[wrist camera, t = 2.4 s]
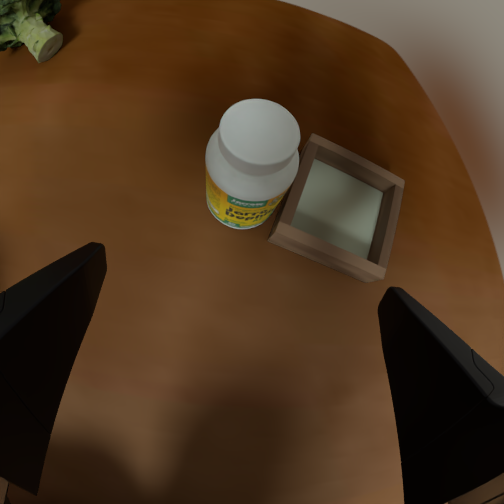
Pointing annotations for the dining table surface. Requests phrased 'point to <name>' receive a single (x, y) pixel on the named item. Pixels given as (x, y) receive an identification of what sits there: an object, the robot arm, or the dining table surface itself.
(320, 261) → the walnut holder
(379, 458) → the dining table surface
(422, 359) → the robot arm
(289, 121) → the supplement bottle
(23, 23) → the vegetable
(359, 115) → the dining table surface
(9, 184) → the dining table surface
